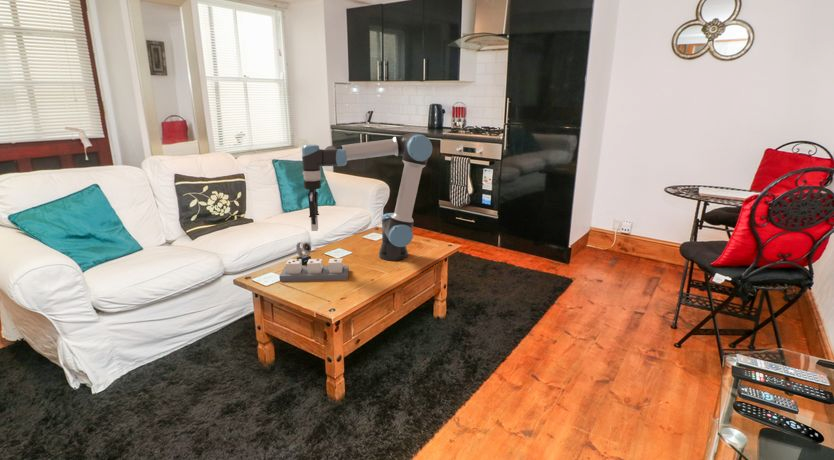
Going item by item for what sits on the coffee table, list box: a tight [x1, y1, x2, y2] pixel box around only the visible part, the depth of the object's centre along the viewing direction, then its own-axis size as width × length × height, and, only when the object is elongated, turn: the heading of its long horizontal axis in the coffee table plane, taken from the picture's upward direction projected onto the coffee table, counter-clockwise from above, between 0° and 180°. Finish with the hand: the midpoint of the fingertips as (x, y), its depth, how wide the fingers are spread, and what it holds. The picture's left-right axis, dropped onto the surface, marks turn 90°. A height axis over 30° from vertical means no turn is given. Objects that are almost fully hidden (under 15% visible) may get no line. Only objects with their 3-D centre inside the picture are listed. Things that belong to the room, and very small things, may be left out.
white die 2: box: [327, 257, 344, 273], centre depth 209 cm, size 6×6×5 cm
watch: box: [295, 240, 312, 266], centre depth 225 cm, size 6×8×11 cm
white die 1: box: [285, 258, 303, 274], centre depth 207 cm, size 6×6×5 cm
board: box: [279, 265, 350, 282], centre depth 209 cm, size 30×12×2 cm, turn 94°
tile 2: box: [306, 258, 323, 274], centre depth 208 cm, size 6×6×5 cm
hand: (314, 229), depth 210 cm, fingers open, 2 cm apart
